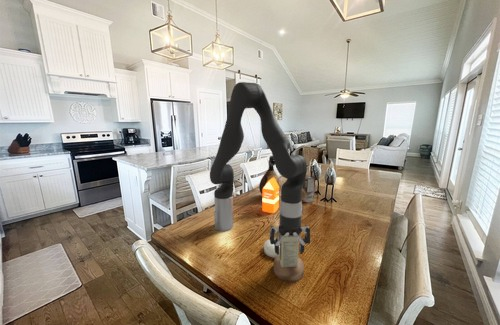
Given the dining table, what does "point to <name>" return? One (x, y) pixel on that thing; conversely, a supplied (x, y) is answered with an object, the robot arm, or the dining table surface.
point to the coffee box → (308, 189)
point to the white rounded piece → (270, 249)
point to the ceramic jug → (269, 175)
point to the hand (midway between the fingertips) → (289, 253)
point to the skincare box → (288, 251)
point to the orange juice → (270, 196)
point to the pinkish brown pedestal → (289, 271)
